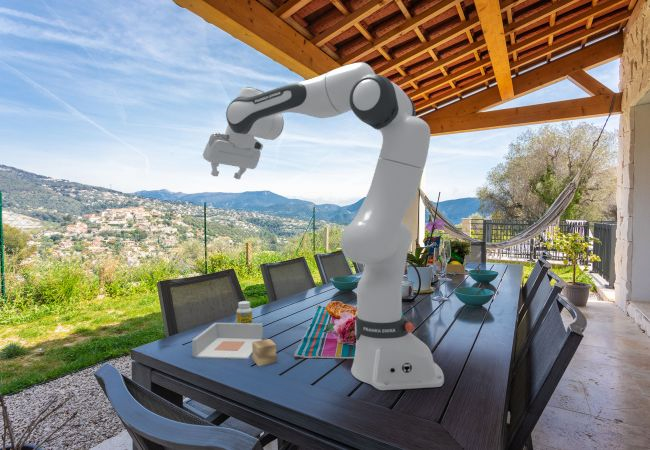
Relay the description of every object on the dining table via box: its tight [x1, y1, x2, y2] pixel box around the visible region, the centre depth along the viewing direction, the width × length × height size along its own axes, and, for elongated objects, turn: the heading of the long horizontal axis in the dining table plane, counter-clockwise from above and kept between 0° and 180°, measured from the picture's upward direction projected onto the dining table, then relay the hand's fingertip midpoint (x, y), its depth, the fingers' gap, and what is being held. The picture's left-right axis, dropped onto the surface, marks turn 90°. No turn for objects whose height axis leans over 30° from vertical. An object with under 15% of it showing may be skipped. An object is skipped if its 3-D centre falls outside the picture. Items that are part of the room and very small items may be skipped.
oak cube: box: [252, 338, 277, 367], centre depth 96 cm, size 5×5×5 cm
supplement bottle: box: [236, 300, 253, 323], centre depth 124 cm, size 5×5×10 cm
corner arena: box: [191, 322, 264, 360], centre depth 107 cm, size 16×16×5 cm
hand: (225, 177), depth 118 cm, fingers open, 8 cm apart
